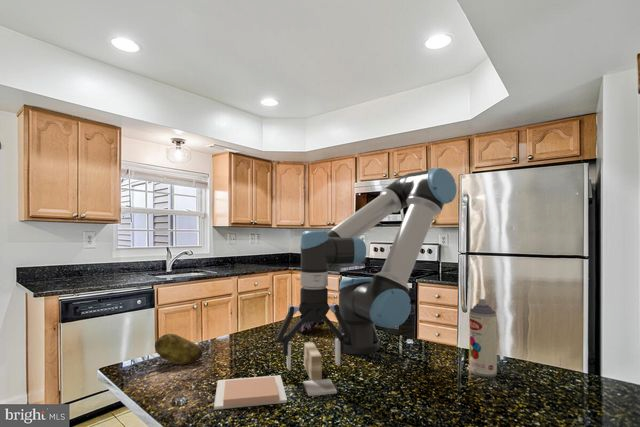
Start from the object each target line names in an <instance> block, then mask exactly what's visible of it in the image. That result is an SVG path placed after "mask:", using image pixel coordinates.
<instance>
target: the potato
mask: <svg viewBox="0 0 640 427" xmlns="http://www.w3.org/2000/svg"><path fill="white" fill-rule="evenodd" d="M154 349H155V352H156V353H157V355H158V356H160V358H162V359H164V360H166V361H168V362H170V363H172V364H174V365H188V364H192V363H194V362H197V361H199V360H200V359H201V358H202V356H203V349H202V347H201V346H200V345H199V344H197V343H195V342H193V341H190V339H189V340H188V339H186V338H185V337H182V336H180V335H178V334H175V333H167V334H163V335H162V336H160V337H159V338H158V339H156V341H155V343H154Z"/></svg>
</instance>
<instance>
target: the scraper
mask: <svg viewBox="0 0 640 427" xmlns="http://www.w3.org/2000/svg"><path fill="white" fill-rule="evenodd" d="M303 367H304V368H305V371H306V373H307V375H308V378H309V380H303V386H304V388H305V391H306V393H307V395H308V397H311V396H312V397H313V396H320V395H321V396H322V395H323V396H324V395H331V394H332V395H333V394H338V390H337V388H336V387H335V385H334V383H333V382H332V380H331V378H324V379H323V377H322V376H323V369H322V367H323V356H322V354H321V352H320V351H319V350H318V348H317V346H316V344H315V343H314V341H310V342H309V341H307V342H303Z"/></svg>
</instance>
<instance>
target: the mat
mask: <svg viewBox="0 0 640 427" xmlns="http://www.w3.org/2000/svg"><path fill="white" fill-rule="evenodd" d="M266 377H275V381H276V385H277V390H278V394H279V402H270V403H259V404H249V405H238V406H228V407H223V399H224V389H225V381H229V380H241V379H254V378H266ZM284 386H285V385H284V383H283V380H282V376H281V375H280V374H278V375H265V376H264V375H263V376H254V377H240V378H230V379H229V378H228V379H218V380H217V384H216V390H215V391H216V392H215V395H214V396H215V397H214V403H213V411H214V410H215V411H216V410H224V409H235V408H244V407H245V408H246V407H255V406H256V407H257V406H263V405H265V406H266V405H267V406H268V405H276V404H277V405H278V404H285V403H288V399H287V395H286V391H285V387H284Z"/></svg>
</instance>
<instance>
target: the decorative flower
mask: <svg viewBox="0 0 640 427" xmlns="http://www.w3.org/2000/svg"><path fill="white" fill-rule="evenodd" d="M301 315H302V314H301V313H300V316H301ZM316 326H317V327H320V328H323V331H327V327H329V326H328V325H327V324H326V322H325V321H324V320H322V321H320V322H315V321H314V322H308V321H306V322H305V323H304V324H303V325H302V326H301V327H300V329H299V330H298V331H297V334H303V332H304V328H307V330H308V332H309V333H311V331H313V330H314V328H315V327H316Z"/></svg>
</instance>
